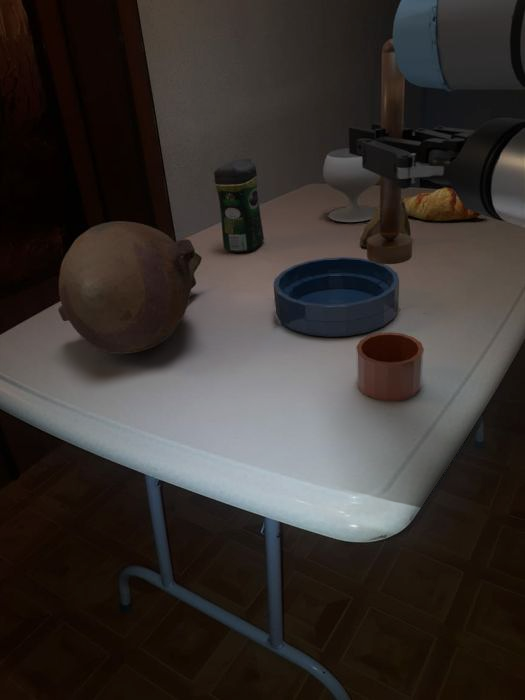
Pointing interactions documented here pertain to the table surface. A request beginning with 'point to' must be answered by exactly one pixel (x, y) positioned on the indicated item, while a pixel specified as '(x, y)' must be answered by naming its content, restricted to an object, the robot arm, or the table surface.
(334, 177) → the chalice
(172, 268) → the jug
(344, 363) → the table surface
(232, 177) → the coffee jar
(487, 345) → the table surface
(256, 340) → the table surface
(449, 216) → the croissant
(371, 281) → the bowl
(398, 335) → the crock
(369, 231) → the rock
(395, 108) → the paper towel holder
